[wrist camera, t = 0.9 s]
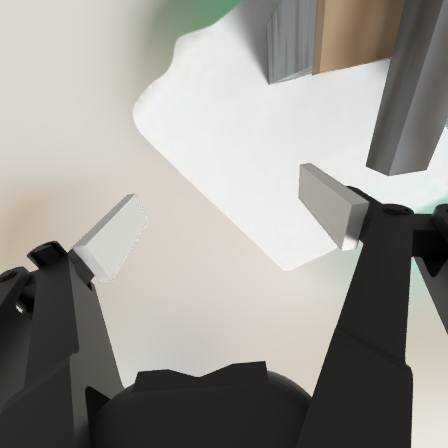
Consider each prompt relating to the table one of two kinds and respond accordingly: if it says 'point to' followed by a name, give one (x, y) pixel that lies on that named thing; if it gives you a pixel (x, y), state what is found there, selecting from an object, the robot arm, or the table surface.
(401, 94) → the dark grey bar
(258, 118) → the table surface
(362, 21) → the bench
